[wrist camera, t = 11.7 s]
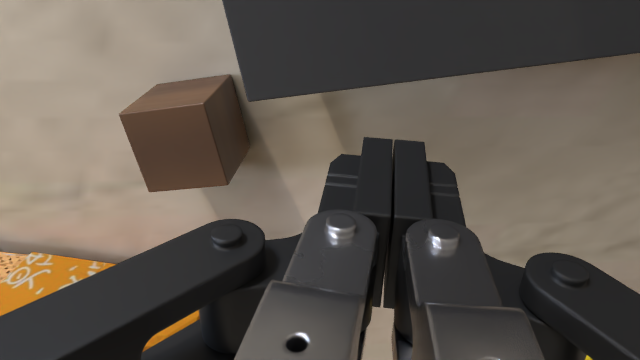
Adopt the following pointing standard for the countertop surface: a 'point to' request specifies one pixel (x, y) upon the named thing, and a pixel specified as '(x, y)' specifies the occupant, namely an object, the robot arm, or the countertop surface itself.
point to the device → (55, 283)
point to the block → (187, 133)
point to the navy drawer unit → (415, 39)
